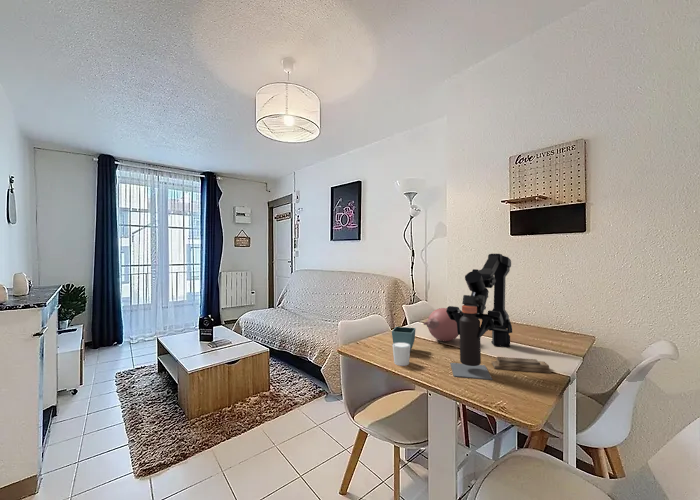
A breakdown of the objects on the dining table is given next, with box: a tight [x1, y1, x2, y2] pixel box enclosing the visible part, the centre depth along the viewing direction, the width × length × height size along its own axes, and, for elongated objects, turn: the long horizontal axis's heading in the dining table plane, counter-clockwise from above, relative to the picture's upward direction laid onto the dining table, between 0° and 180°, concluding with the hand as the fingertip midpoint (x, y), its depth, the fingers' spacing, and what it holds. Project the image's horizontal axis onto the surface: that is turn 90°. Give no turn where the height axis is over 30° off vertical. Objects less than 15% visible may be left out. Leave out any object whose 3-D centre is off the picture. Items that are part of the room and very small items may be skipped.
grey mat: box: [450, 362, 493, 381], centre depth 105 cm, size 12×12×1 cm
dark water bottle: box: [459, 304, 482, 366], centre depth 105 cm, size 7×7×20 cm
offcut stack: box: [491, 356, 552, 374], centre depth 108 cm, size 18×5×3 cm, turn 76°
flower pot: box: [391, 326, 416, 351], centre depth 128 cm, size 9×9×9 cm
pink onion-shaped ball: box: [422, 307, 459, 342], centre depth 141 cm, size 15×20×15 cm
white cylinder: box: [392, 342, 411, 367], centre depth 114 cm, size 7×7×7 cm
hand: (468, 335), depth 104 cm, fingers closed on dark water bottle, 6 cm apart
